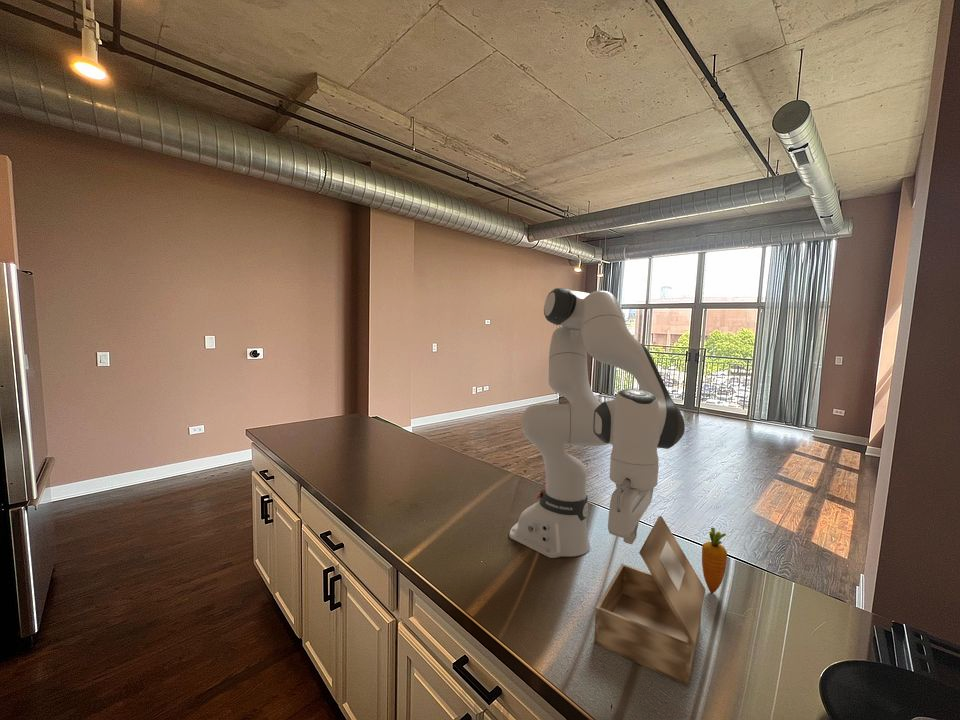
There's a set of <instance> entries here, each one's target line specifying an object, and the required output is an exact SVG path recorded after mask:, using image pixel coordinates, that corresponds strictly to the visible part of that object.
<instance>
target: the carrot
mask: <svg viewBox="0 0 960 720" xmlns="http://www.w3.org/2000/svg"><path fill="white" fill-rule="evenodd" d="M725 536H727V534H726V533H721V532H720V531H716V529H715V527H711V528H710V531H709V538H710V541H707V542H704V543H702V547H701V548H702V549H701V565H702V566H701V567H702V573H703V577H704V581H705V584H706V586H707V589H708V591H709V592H710V593H711V594H714V593H716V592H717V591H718V589H719V588H720V586H721V584H722V582H723V580H724V578H725V573H726V569H727V563H728V560H727V559H728V552H727V549H726V548H725V547H724V546H723V545H722V543H723V542H722V540H721V539H722V538H724V537H725Z"/></svg>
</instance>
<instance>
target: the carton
mask: <svg viewBox="0 0 960 720" xmlns="http://www.w3.org/2000/svg"><path fill="white" fill-rule="evenodd" d="M594 616H595V617H594V634H593V643H594V644H595V645H597V646H599V647H602V648H604V649H606V650H608V651H611V652H612V653H615V654H616V655H619V656H621V657H623V658H626V659H627V660H630V661H632V662H634V663H636V664H639V665H641V666H643V667H645V668H647V669H650V670H652V671H653V672H655V673H658V674H659V675H662V676H664V677H666V678H668V679H671V680H673V681H675V682H676V683H679V684H681V685H683V686H685V687H688V688H689V686H690V683H691V677H692V672H693V666H694V661H695V656H696V651H697V647H698V646H697V645H698V639H699V634H700V630H701V629H700V628H701V622H702V615H701V616H700V621H699V626H698V631H697V636H696V641H695V644H691V643H690V641H689V639H688V637H687V636H686V634H685V632H684V630H683V629H682V627H681V625H680V623H679V622H678V620H677V618H676V616H675V615H674V613H673V611H672V609H671V608H670V606H669V604H668V602H667V601H666V599H665V597H664V595H663V594H662V592H661V590H660V588H659V587H658V585H657V583H656V581H655V580H654V578H653V576H652V574H651V573H650V572H649V571H648V572H647V571H644V570H641V569H639V568H636V567H632V566H630V565H627V564H624V563H621V564H620V566H619V568H618V569H617V571H616V573H615V575H614V576H613V578H612V580H611V581H610V583H609V584H608V586H607V587H606V589H605V591H604V593H603V595H601V598H600V599H599V601H598V603H597V605H595V613H594Z"/></svg>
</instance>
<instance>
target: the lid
mask: <svg viewBox="0 0 960 720" xmlns="http://www.w3.org/2000/svg"><path fill="white" fill-rule="evenodd" d="M638 553H639V556H640V557H641V558H642V560H643V562H644V564H645V565H646V567H647V568H648V572H649V573H651V574H652V576H653V578H654V580H655V581H656V583H657V585H658V587H659V588H660V590H661V592H662V594H663V595H664V597H665V599H666V601H667V602H668V604H669V606H670V608H671V609H672V611H673V613H674V615H675V616H676V618H677V620H678V622H679V623H680V625H681V627H682V629H683V630H684V632H685V634H686V636H687V637H688V639H689V641H690V643H691V644H695V641H696V636H697V631H698V626H699V621H700V616H701V617H702V611H703V605H704V600H705V595H706V587H705V586H704V585H703V582H702V581H701V579H700V578H699V576H698V574H697V573H696V571H695V570H694V568H693V566H692V564H691V562H690V560H688V558H687V556H686V555H685V552H684V550H683V549H682V548H681V546H680V544H679V543H678V541H677V539H676V537H675V536H674V534H673V533H672V531H671V529H670V527H669V526H668V525H667V522H666V521H665V519H664V517H663V516H662V515H659V516H658V517H657V519H656V521H655V523H654V525H653V526H652V528H651V530H650V532H649V533H648V536H647V538H646V539H645V541H644V543H643V545H642V547H641V549H640V550H639V552H638Z"/></svg>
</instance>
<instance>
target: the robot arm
mask: <svg viewBox="0 0 960 720" xmlns="http://www.w3.org/2000/svg"><path fill="white" fill-rule="evenodd" d="M543 315H544V317H545V319H546V320H547V321H548V322H550V323H551V324H552V325H555V326H559V327H557V328H556V329H555V330H554V331H553V332H552V335H551V340H550V343H549V344H550V345H549V352H548V385H549V387H550V388H551V389H552V391H554V392H555V393H557V394H558V395H560V396H562V397H563V398H565V399H566V400H567V401H568V402H569V404H559V403H558V404H557V403H555V404H554V403H542V404H534V405H529V406H528V407H526V408H525V410H524V412H523V414H522V417H521V420H520V421H521V422H520V426H521V431H522V433H523V436H524V437H525V438H526V439H527V440H528V441H529V442H530V443H532V444H533V445H534V446H535V448H537V450H538V452H539V453H540V455H541V457H542V459H543V462H544V469H545V486H544V487H543V489H542V490H540V491H539V493H537V495H536V496H537V497H536V499H539V501H537V502H534V504H531V505H530V506H528V507H527V508H525V509H524V510H523V511H522V512H521V513H520V516H519V518H518V521H517V522H516V523H515V524H514V525H513V526H512V527H511V528H510V530H509V535H508V536H509V538H510V539H511V540H514V541H516V542H518V543H520V544H522V545H524V546H526V547H527V548H529V549H531V550H534V551H535V552H537V553H540V554H541V555H543V556H545V557H548V558H550V559H556V558H561V557H577V556H582V555H585V554H586V553H588V552H589V551H590V549H591V543H590V539H589V536H588V528H587V527H588V525H587V516H588V511H589V510H588V509H589V504H588V500H589V499H588V497H589V496H588V495H587V486H588V483H587V482H588V469H587V467H586V465H585V464H584V462H582V461H581V460H580V459H578V458H577V457H575V456H573V455H571V454H570V453H568V452H567V451H566V449H565V447H566V446H574V447H575V446H577V447H578V446H579V447H580V446H581V447H591V448H593V447H600V446H606V445H612V450H611V453H610V465H609V479H610V481H611V482H613V483H615V488H616V489H615V490H613V492H612V494H611V496H610V499H609V500H610V501H609V509H608V521H607V530H608V533H609V534H610V535H613V536H616V537H619V538H623V542H624V543H625V544H629V545H633V543H634V542H635V540H636V539H637V535H638V533H637V531H638V528H639V522H640V521H641V518H642V517H643V516H644V514H645V513H646V511H647V509H648V507H650V505H651V503H652V500H653V499H652V498H653V495H654V488H656V487H657V486H658V479H659V477H658V476H659V475H658V474H659V460H660V459H659V455H658V449H666V450H669V449H671V448H672V447H674V446H675V445H676V444H678V442H680V440H681V439H682V437H683V436H684V435H685V430H686V429H685V428H686V427H685V424H686V423H685V419H684V417H683V415H682V414H683V413H682V412H681V411H680V409H679V407H678V406H677V405H676V403H675V402H674V400H673V399H672V396H671V395H670V393H669V391H668V389H667V387H666V385H665V383H664V380H663V378H662V376H661V374H660V372H659V370H658V367H657V365H656V363H655V361H654V359H653V358H652V355H651V353H650V351H649V350H648V348H647V347H646V346H645V345H644V344H642V343H641V342H639V341H638V340H637V339H636V338H635V337H634V336H633V334H632V333H631V332H630V331H629V329H628V327H627V324H626V319H625V316H624V313H623V311H622V307H621V306H620V303H619V301H618V299H617V297H616V296H615V295H614V294H612V292H609V291H606V290H595V291H592V292H585V291H580V290H579V291H578V290H573V289H569V288H566V287H557V288H554V289H552V290H551V291H550V292H549V293H548V295H547V296H546V298H545V302H544V306H543ZM588 355H589V356H590V357H592V358H593V359H594V360H596V361H598V362H599V363H601V364H606V365H608V366H611V367H616V368H618V369H621V370H622V371H625V372H626V373H629V374H630V375H631V376H632V377H634V379H635V380H636V382H637V384H638V386H639V388H640V389H638V388H637V389H636V388H626V389H622V390H620V391H618V392H616V395H615V398H614V399H611V400H606V401H602V402H600V401H599V400H598V398H597V397H596V395H595V394H594V392H593V390H592V388H591V385H590V380H589V370H588V369H589V368H588Z"/></svg>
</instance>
